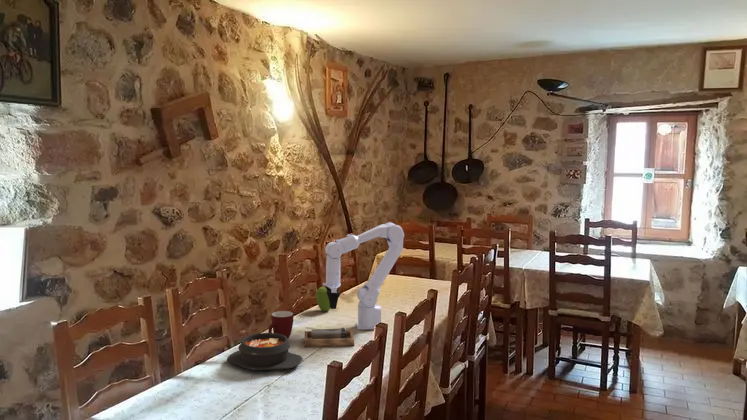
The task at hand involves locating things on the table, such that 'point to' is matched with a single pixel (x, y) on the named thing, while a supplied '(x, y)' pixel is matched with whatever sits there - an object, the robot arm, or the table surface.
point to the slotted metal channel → (328, 333)
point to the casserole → (264, 353)
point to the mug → (282, 323)
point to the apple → (323, 299)
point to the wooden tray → (329, 341)
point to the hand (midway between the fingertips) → (332, 306)
